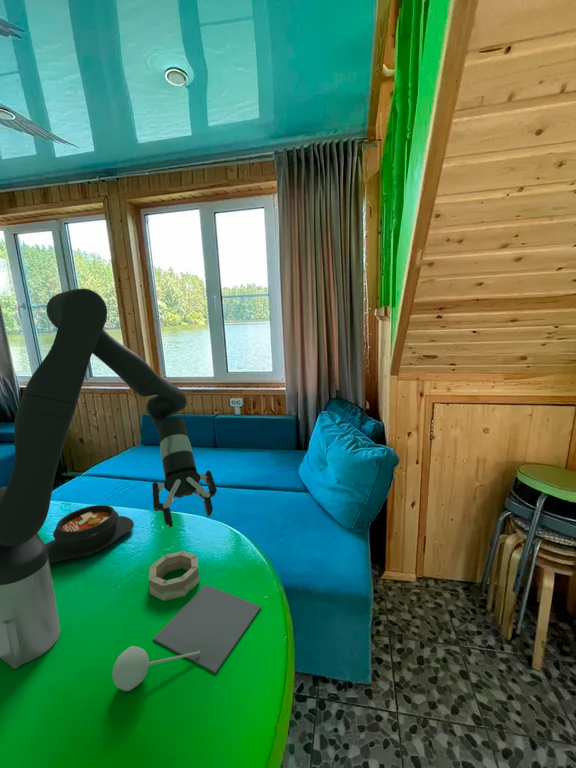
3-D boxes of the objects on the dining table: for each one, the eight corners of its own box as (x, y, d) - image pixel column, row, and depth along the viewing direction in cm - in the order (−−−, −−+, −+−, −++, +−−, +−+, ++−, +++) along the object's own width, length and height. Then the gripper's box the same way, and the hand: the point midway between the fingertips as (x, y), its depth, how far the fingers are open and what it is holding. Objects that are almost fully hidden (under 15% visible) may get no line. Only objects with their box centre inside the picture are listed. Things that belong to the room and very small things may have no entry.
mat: (215, 673, 61) (215, 672, 60) (153, 640, 68) (153, 638, 68) (261, 608, 75) (260, 606, 75) (205, 585, 82) (205, 584, 82)
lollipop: (203, 669, 60) (110, 691, 54) (198, 676, 63) (109, 698, 57) (201, 628, 64) (115, 645, 59) (197, 637, 68) (114, 654, 62)
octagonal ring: (175, 606, 76) (173, 590, 75) (140, 590, 81) (138, 575, 80) (208, 573, 86) (207, 559, 85) (175, 560, 91) (174, 547, 91)
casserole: (44, 581, 85) (39, 551, 84) (34, 548, 99) (30, 522, 97) (143, 537, 102) (140, 512, 101) (123, 514, 116) (120, 492, 114)
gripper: (147, 455, 78) (157, 525, 69) (207, 444, 84) (223, 506, 76) (147, 469, 83) (156, 535, 75) (203, 457, 90) (218, 517, 81)
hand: (190, 520), depth 75 cm, fingers open, 8 cm apart
